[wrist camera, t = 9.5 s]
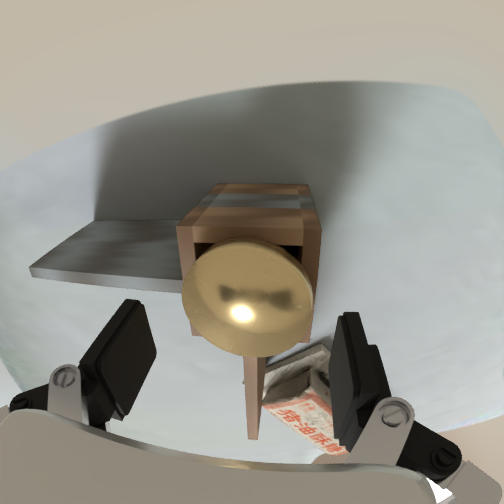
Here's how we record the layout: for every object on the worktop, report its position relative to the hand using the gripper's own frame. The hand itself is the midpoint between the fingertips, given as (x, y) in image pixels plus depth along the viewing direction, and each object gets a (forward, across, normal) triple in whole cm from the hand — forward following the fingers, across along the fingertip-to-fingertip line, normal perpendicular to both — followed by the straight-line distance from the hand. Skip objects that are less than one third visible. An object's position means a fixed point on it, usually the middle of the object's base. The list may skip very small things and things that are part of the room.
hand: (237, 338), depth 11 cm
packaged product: (+13, -7, +22) cm, 26 cm away
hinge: (+13, +6, +6) cm, 15 cm away
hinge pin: (+12, -1, 0) cm, 12 cm away
